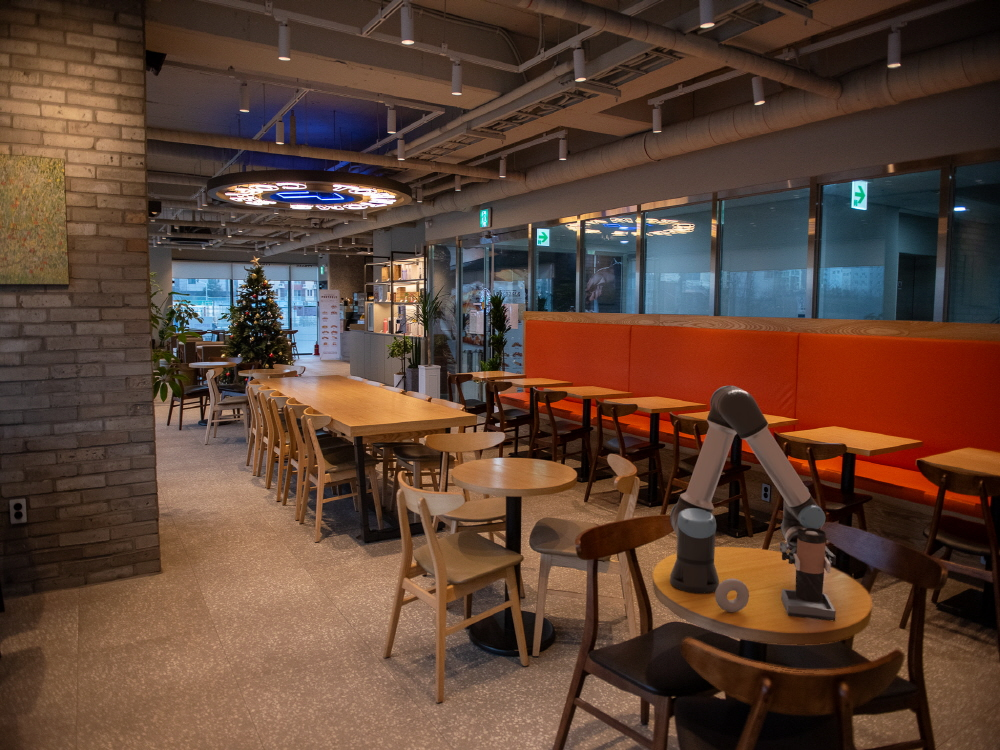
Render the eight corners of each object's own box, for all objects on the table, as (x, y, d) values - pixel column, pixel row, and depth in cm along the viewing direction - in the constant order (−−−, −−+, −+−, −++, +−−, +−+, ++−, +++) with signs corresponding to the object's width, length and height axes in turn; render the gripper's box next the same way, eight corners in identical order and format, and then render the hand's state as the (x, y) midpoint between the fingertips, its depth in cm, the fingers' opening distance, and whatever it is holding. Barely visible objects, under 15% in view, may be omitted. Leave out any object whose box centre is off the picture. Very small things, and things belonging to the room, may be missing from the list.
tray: (787, 615, 199) (788, 605, 199) (781, 598, 211) (781, 588, 211) (835, 621, 196) (835, 610, 195) (825, 603, 208) (826, 593, 208)
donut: (745, 609, 203) (747, 576, 202) (750, 614, 200) (752, 581, 199) (712, 609, 202) (713, 576, 201) (716, 614, 199) (718, 581, 198)
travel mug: (821, 604, 198) (824, 537, 196) (792, 599, 202) (795, 532, 200) (824, 595, 204) (827, 530, 202) (796, 590, 208) (799, 525, 206)
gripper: (833, 555, 217) (851, 583, 195) (765, 550, 222) (775, 576, 200) (834, 532, 216) (852, 557, 194) (766, 527, 221) (776, 551, 199)
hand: (813, 567), depth 197 cm, fingers closed on travel mug, 7 cm apart
